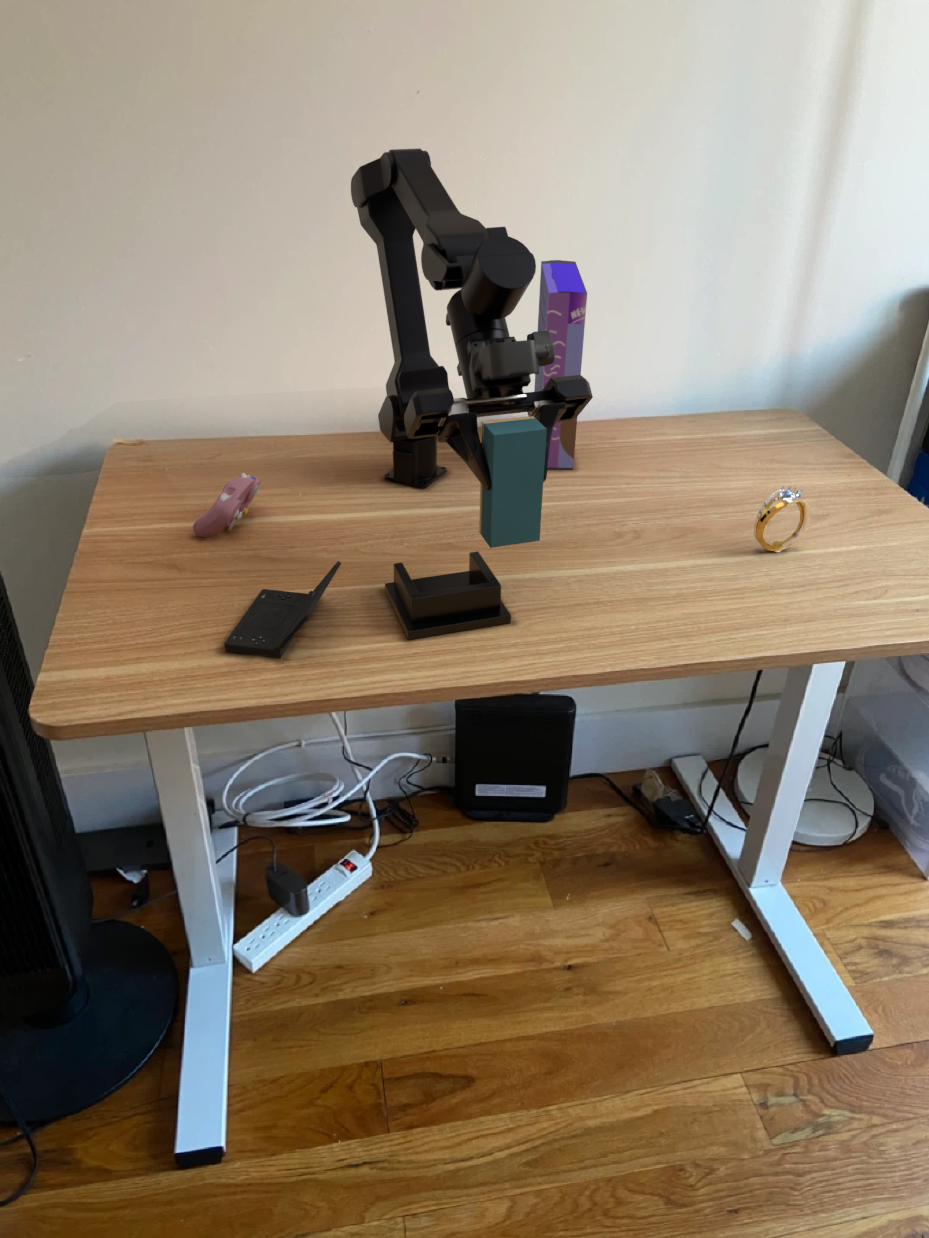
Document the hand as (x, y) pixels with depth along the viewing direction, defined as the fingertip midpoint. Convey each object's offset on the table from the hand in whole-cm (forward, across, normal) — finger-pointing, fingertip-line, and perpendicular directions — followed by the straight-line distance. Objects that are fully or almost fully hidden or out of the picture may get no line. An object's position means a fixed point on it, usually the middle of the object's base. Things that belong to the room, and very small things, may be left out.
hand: (516, 484), depth 95 cm
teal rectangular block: (+4, 0, +6) cm, 7 cm away
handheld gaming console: (+9, -24, +11) cm, 28 cm away
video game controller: (-9, -27, +29) cm, 40 cm away
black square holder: (+9, -7, +10) cm, 15 cm away
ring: (+9, +34, +10) cm, 36 cm away
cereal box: (-17, +21, +37) cm, 46 cm away
